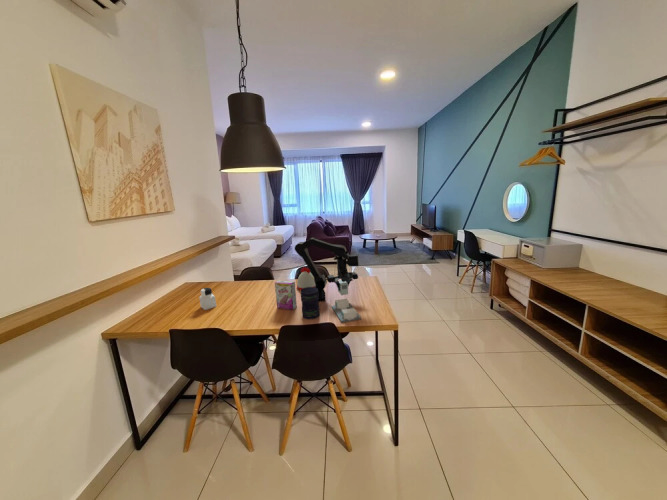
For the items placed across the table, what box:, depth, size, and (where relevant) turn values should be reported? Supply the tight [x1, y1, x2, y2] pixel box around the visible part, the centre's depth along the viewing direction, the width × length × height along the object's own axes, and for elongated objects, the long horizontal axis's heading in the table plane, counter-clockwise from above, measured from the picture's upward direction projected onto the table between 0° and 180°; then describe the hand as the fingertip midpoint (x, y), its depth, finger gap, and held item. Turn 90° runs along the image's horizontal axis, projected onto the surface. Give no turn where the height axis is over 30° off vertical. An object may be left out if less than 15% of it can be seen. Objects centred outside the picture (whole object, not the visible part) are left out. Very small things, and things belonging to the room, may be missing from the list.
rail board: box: [331, 298, 362, 324], centre depth 150 cm, size 11×20×4 cm, turn 15°
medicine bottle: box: [198, 287, 217, 311], centre depth 167 cm, size 7×7×12 cm
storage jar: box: [300, 287, 321, 320], centre depth 149 cm, size 10×10×15 cm
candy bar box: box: [274, 279, 298, 311], centre depth 160 cm, size 11×5×16 cm, turn 71°
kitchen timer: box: [296, 266, 316, 291], centre depth 193 cm, size 14×14×15 cm
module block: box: [337, 279, 349, 296], centre depth 167 cm, size 4×7×7 cm, turn 15°
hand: (342, 290), depth 168 cm, fingers closed on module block, 4 cm apart
